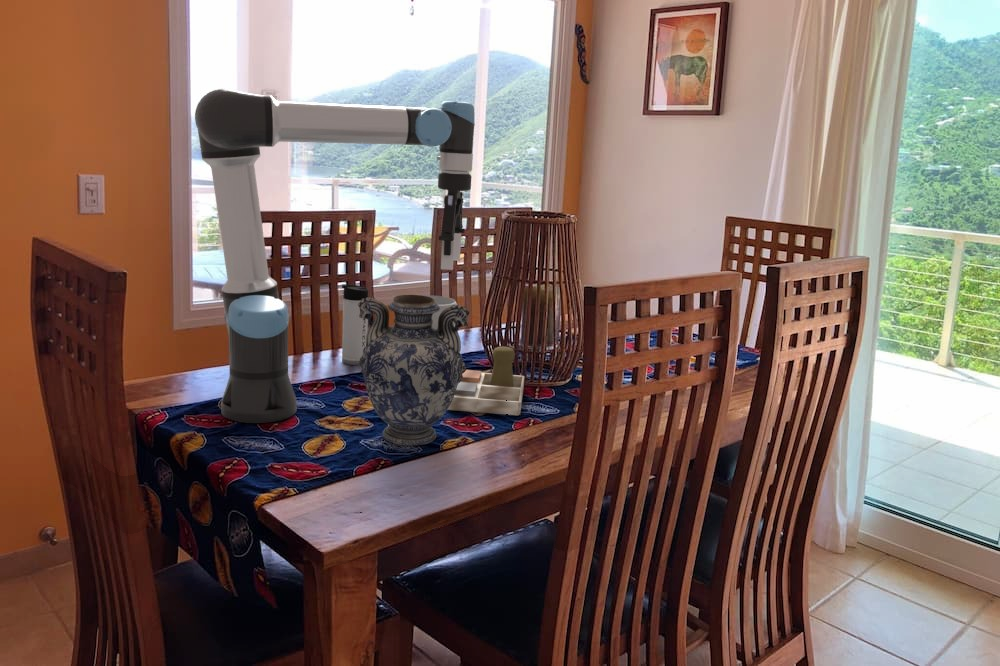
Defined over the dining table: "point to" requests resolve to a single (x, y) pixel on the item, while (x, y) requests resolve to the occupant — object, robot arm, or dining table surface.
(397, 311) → the decorative vase
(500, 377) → the cork
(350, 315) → the travel mug
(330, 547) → the dining table surface
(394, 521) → the dining table surface
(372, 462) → the dining table surface
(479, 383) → the socket board
